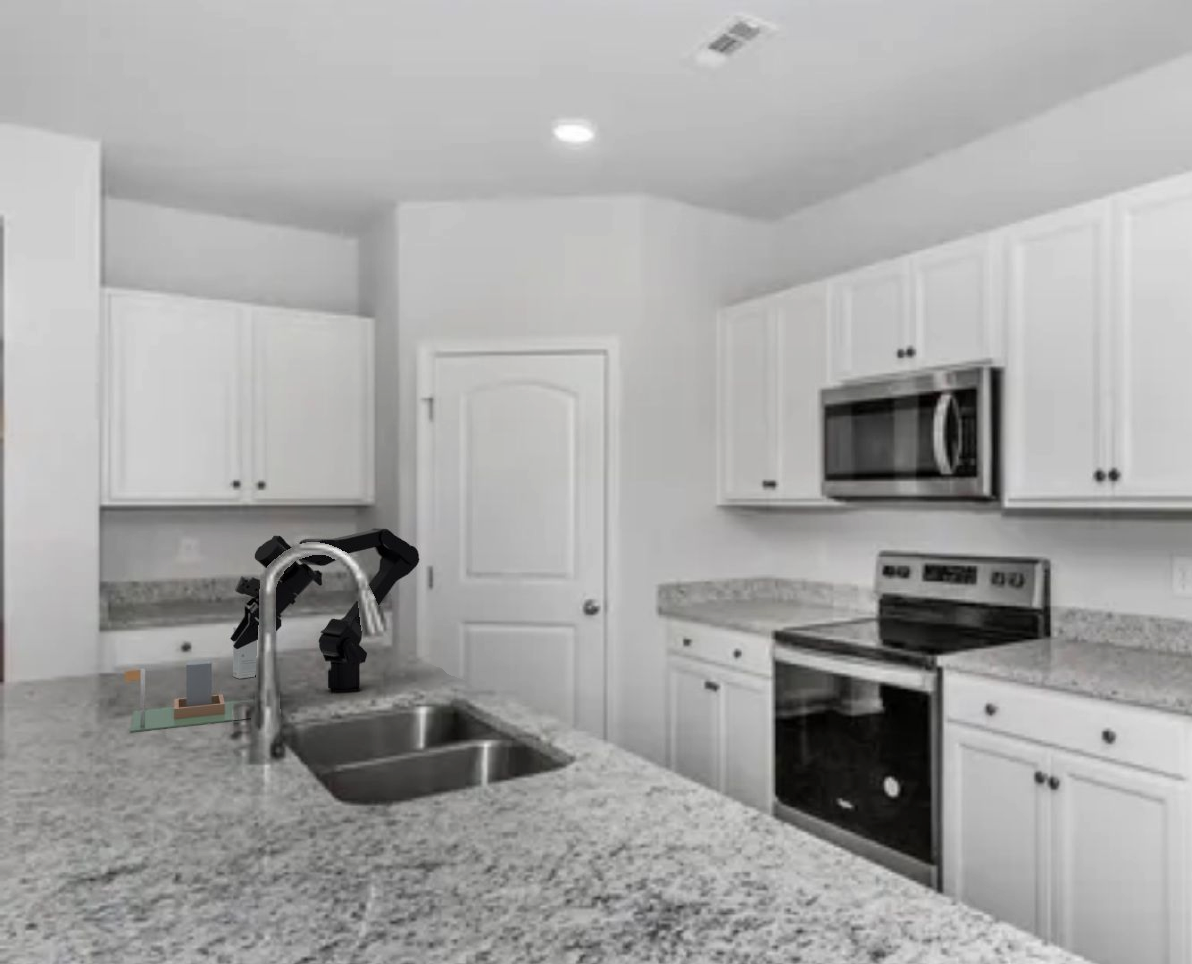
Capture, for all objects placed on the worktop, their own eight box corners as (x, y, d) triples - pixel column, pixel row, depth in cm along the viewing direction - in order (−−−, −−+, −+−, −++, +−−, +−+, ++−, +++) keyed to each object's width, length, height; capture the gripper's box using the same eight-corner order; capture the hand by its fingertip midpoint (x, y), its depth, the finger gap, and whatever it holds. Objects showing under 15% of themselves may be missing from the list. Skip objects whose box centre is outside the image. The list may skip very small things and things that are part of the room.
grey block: (210, 707, 182) (210, 659, 182) (211, 712, 178) (211, 663, 178) (186, 709, 180) (186, 661, 180) (186, 715, 176) (186, 665, 176)
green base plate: (259, 699, 190) (259, 647, 190) (266, 717, 175) (266, 660, 175) (128, 713, 179) (128, 657, 179) (124, 732, 164) (124, 672, 165)
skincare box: (239, 679, 210) (239, 628, 210) (232, 676, 213) (232, 626, 213) (264, 675, 214) (264, 625, 214) (257, 672, 217) (257, 623, 217)
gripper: (255, 558, 194) (201, 612, 190) (263, 566, 177) (204, 625, 173) (293, 591, 198) (241, 645, 193) (304, 602, 181) (248, 661, 176)
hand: (233, 643), depth 184 cm, fingers open, 9 cm apart
